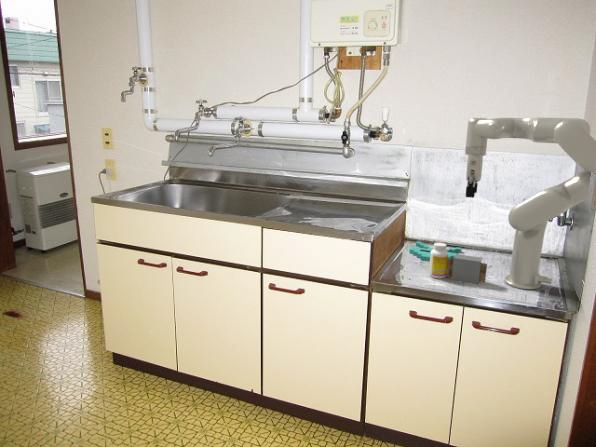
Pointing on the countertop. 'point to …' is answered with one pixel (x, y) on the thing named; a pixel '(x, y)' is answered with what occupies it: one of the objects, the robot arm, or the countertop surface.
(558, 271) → the countertop surface
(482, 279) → the brown flat slab
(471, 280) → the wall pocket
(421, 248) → the pixel art sprite
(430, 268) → the supplement bottle
